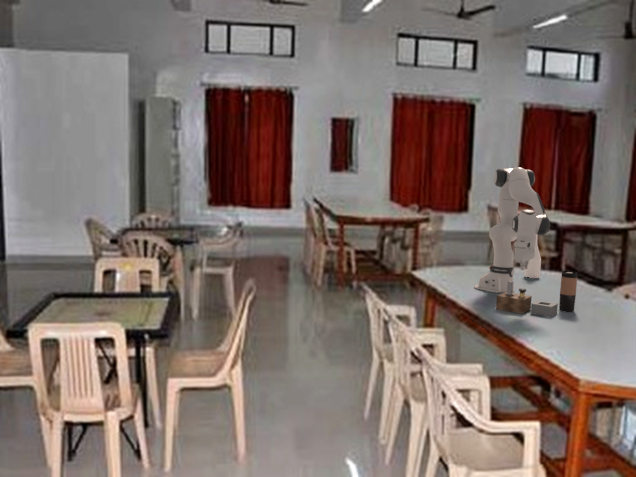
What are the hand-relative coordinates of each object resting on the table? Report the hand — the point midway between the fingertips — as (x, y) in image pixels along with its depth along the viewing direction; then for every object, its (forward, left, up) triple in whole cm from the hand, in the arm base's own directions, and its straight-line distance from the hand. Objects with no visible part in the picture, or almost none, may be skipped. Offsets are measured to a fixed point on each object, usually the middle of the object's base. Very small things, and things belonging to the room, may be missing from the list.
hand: (524, 269), depth 357 cm
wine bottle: (-26, +98, -21) cm, 104 cm away
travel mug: (+18, +17, -21) cm, 33 cm away
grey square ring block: (+11, +2, -21) cm, 24 cm away
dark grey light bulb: (0, 0, -18) cm, 18 cm away
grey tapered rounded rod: (-6, 0, -21) cm, 22 cm away
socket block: (-4, 0, -21) cm, 21 cm away
